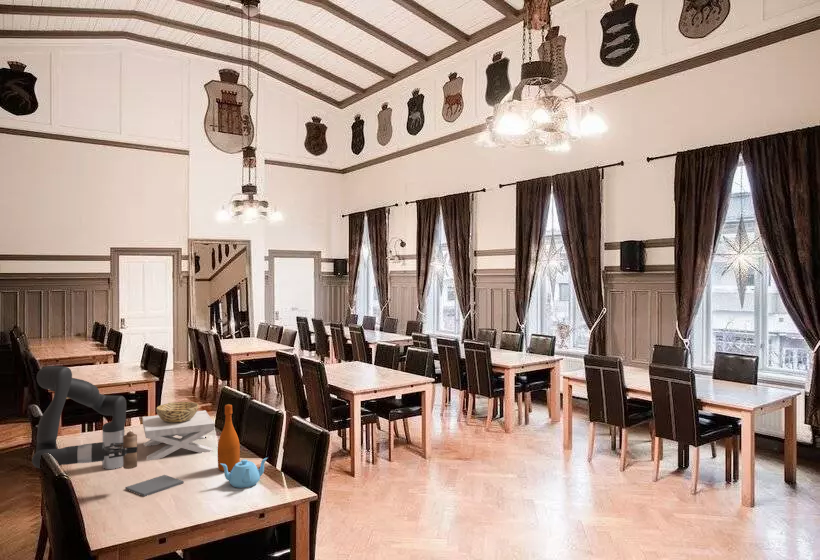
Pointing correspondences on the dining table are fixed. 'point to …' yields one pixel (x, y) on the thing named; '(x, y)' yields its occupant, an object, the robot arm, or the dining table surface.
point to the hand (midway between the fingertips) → (137, 447)
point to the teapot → (244, 473)
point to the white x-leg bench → (177, 428)
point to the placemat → (154, 485)
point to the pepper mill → (130, 458)
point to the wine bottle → (228, 443)
